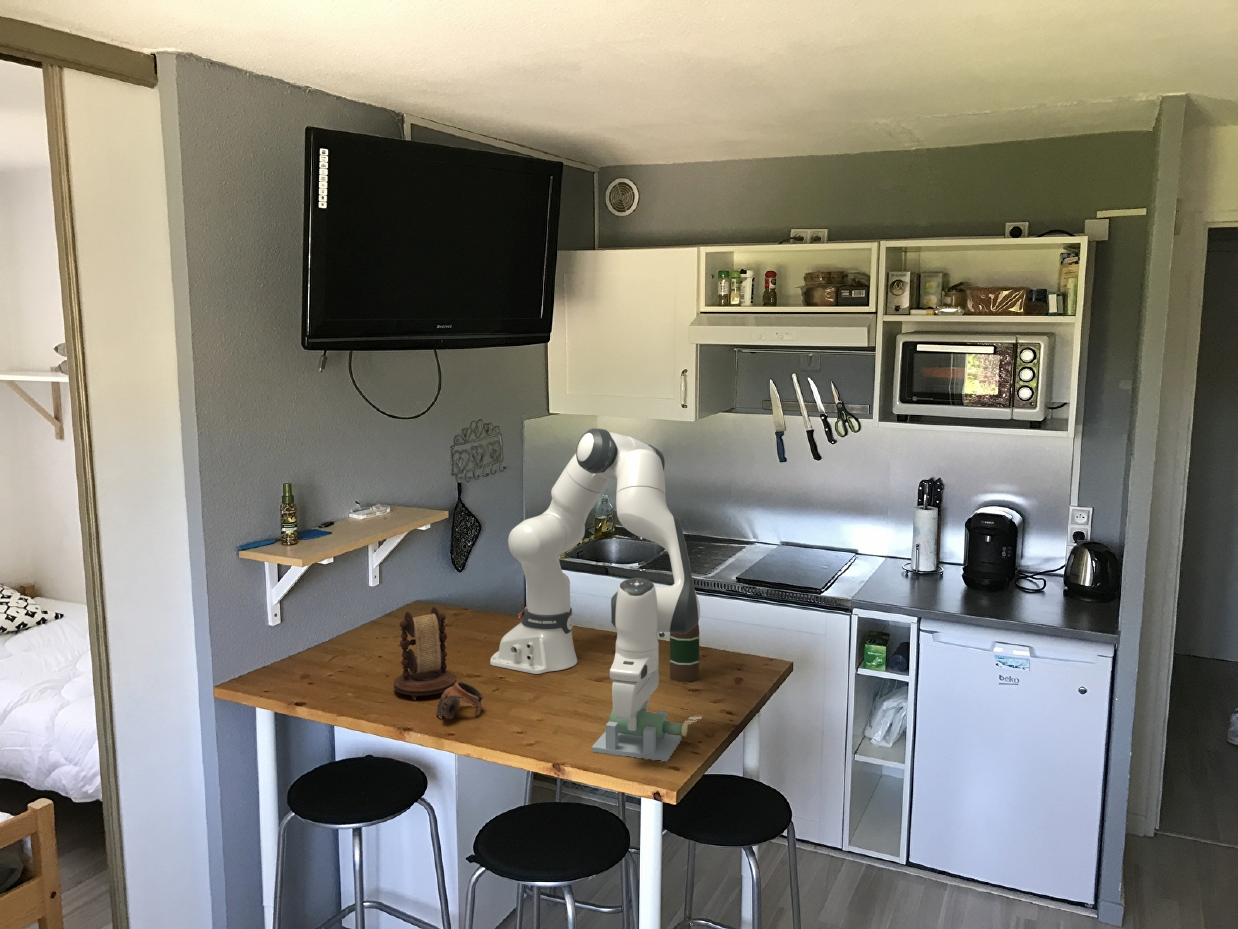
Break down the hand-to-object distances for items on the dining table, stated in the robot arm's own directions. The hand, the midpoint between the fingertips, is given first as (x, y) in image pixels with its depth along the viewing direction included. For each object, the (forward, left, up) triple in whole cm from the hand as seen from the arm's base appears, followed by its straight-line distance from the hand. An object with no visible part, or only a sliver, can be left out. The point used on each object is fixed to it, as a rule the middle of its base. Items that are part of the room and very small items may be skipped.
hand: (637, 723), depth 204 cm
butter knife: (+5, +8, -5) cm, 11 cm away
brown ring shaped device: (-43, +3, -5) cm, 44 cm away
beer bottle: (-1, +42, -5) cm, 42 cm away
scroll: (-58, +15, -5) cm, 60 cm away
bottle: (+3, 0, -2) cm, 3 cm away
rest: (0, 0, -5) cm, 5 cm away
